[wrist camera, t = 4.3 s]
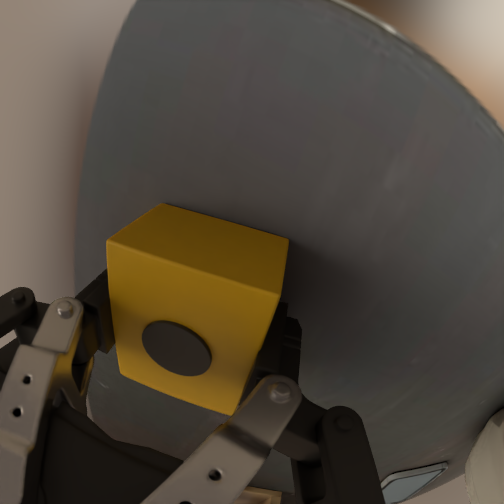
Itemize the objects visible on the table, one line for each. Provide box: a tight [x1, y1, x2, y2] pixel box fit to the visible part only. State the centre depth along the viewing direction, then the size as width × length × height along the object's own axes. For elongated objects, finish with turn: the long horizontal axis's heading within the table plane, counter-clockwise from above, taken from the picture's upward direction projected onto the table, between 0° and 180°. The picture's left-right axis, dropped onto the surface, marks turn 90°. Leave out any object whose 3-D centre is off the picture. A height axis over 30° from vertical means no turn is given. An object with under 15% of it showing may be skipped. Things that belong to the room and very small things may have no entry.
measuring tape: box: [106, 203, 289, 416], centre depth 10 cm, size 5×7×4 cm
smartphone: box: [381, 463, 448, 504], centre depth 20 cm, size 7×1×15 cm
